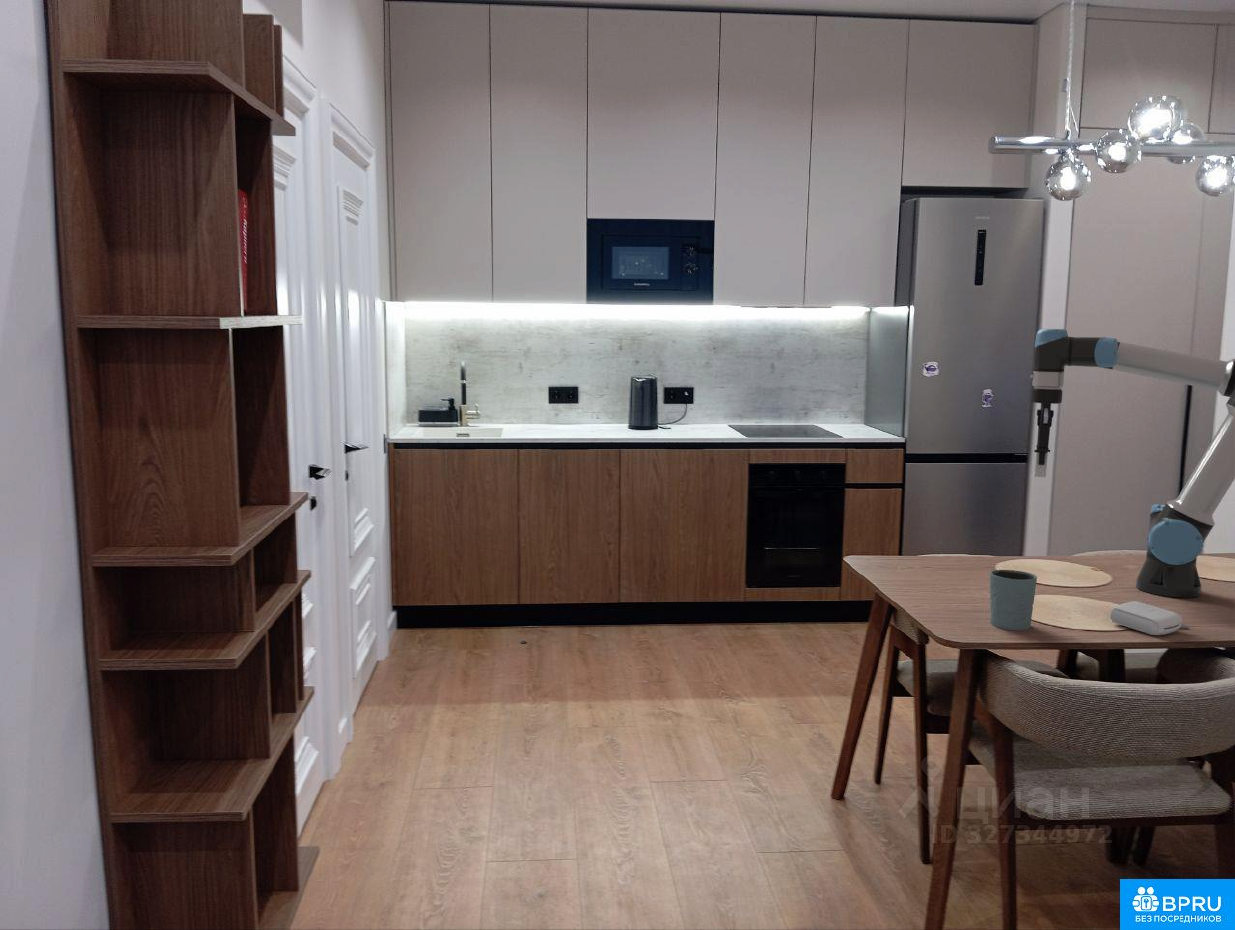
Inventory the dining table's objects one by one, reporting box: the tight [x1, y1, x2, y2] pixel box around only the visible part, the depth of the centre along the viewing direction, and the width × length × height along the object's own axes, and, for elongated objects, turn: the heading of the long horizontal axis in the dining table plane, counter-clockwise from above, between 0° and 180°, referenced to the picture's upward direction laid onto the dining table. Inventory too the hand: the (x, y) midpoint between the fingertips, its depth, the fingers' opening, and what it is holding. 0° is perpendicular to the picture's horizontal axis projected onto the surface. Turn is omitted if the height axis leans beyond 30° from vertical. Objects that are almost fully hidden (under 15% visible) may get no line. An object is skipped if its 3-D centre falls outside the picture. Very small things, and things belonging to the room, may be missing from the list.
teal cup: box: [989, 569, 1038, 632], centre depth 225 cm, size 10×10×12 cm
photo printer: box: [1109, 600, 1183, 636], centre depth 225 cm, size 10×4×12 cm
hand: (1040, 476), depth 261 cm, fingers closed
